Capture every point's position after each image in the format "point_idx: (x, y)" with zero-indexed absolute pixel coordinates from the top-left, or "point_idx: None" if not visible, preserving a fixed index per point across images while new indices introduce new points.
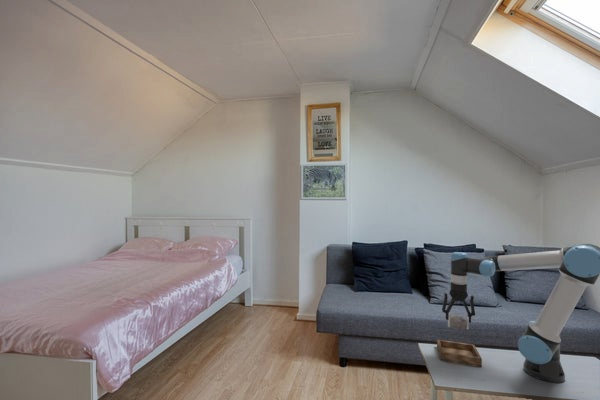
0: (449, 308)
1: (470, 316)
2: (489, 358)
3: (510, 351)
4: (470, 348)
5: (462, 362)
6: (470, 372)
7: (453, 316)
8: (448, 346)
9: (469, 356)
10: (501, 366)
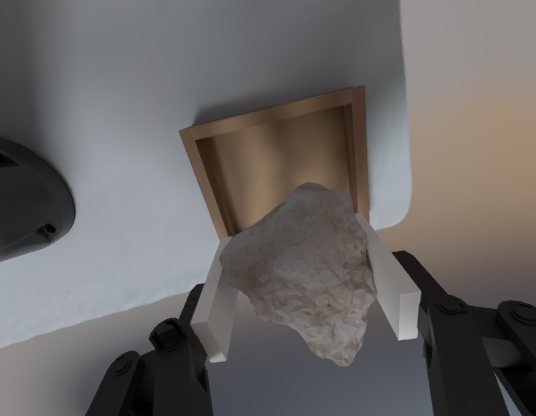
0: (475, 386)
1: (165, 326)
2: (180, 219)
3: (137, 298)
4: None
5: (261, 109)
6: (223, 35)
7: (345, 308)
8: None
9: (229, 123)
10: (133, 175)
